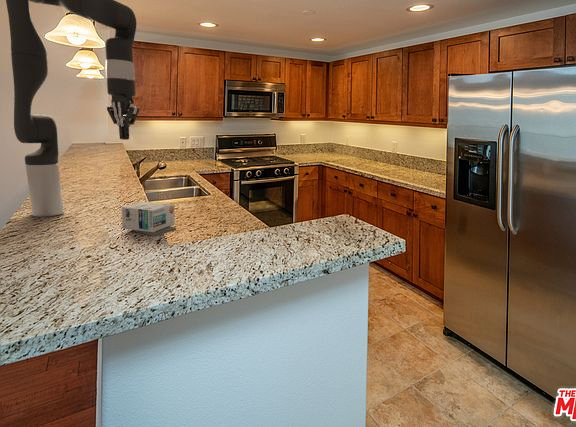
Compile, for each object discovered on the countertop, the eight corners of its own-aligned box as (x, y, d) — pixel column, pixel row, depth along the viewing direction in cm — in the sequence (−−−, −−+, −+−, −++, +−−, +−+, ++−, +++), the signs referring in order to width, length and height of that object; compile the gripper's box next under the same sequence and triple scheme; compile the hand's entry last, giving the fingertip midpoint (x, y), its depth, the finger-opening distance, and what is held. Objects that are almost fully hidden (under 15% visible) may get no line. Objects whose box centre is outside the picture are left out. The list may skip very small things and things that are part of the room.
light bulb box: (121, 229, 106) (153, 233, 103) (120, 206, 105) (152, 210, 101) (146, 221, 116) (175, 225, 113) (145, 200, 115) (175, 203, 111)
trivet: (131, 230, 108) (131, 228, 108) (154, 225, 115) (154, 222, 114) (153, 236, 103) (153, 233, 103) (176, 230, 109) (176, 227, 109)
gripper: (95, 77, 106) (100, 138, 110) (122, 75, 99) (126, 140, 103) (119, 80, 112) (122, 138, 116) (146, 79, 105) (149, 140, 109)
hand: (124, 139), depth 110 cm, fingers closed
